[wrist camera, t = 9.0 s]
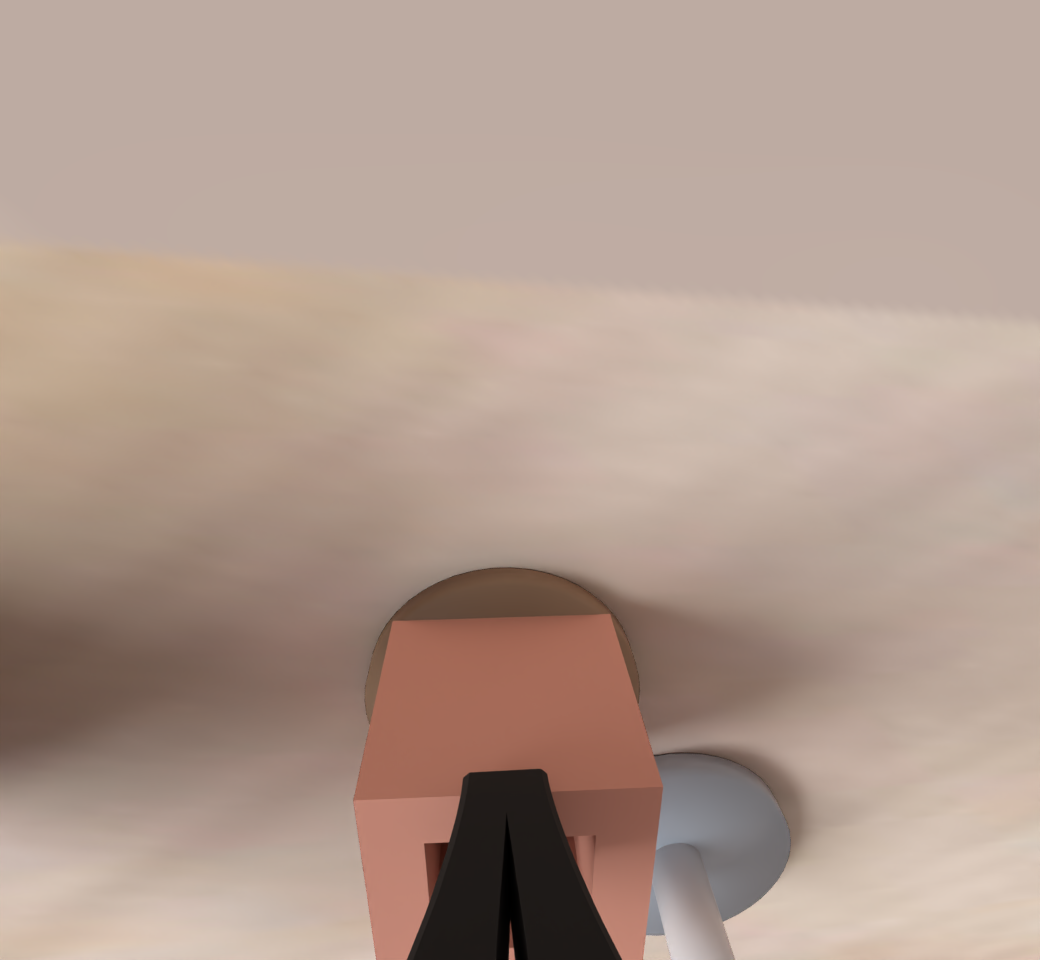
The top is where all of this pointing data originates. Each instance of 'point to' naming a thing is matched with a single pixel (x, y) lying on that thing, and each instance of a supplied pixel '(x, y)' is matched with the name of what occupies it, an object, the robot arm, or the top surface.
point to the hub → (496, 609)
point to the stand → (711, 852)
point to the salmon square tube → (506, 760)
